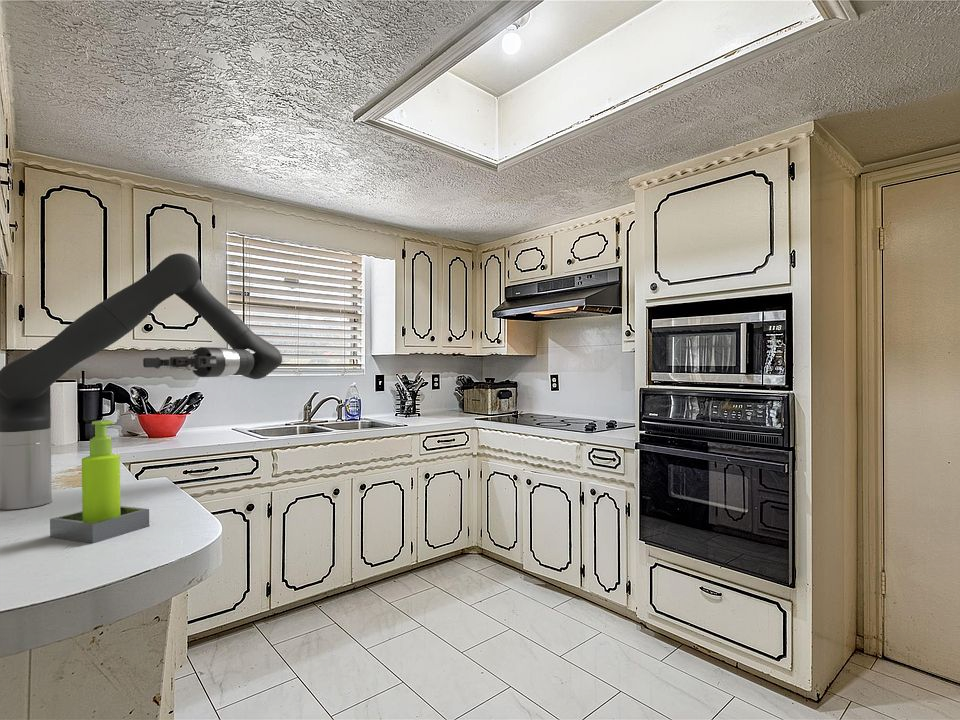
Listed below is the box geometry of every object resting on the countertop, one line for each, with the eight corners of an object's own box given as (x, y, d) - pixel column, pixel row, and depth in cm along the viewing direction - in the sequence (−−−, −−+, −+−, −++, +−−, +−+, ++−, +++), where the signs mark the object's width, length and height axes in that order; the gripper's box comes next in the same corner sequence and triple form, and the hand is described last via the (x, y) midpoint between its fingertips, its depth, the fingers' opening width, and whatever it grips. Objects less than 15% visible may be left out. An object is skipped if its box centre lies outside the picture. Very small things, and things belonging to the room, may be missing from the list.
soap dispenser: (91, 534, 98) (89, 422, 98) (77, 527, 102) (76, 421, 102) (128, 525, 102) (126, 419, 102) (113, 520, 106) (112, 418, 107)
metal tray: (50, 537, 99) (50, 518, 99) (108, 521, 109) (108, 504, 109) (92, 543, 95) (92, 524, 95) (149, 526, 105) (149, 508, 105)
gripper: (194, 348, 141) (135, 346, 126) (237, 346, 136) (179, 344, 121) (195, 377, 141) (135, 379, 126) (237, 376, 136) (180, 378, 121)
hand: (157, 362), depth 123 cm, fingers open, 8 cm apart
